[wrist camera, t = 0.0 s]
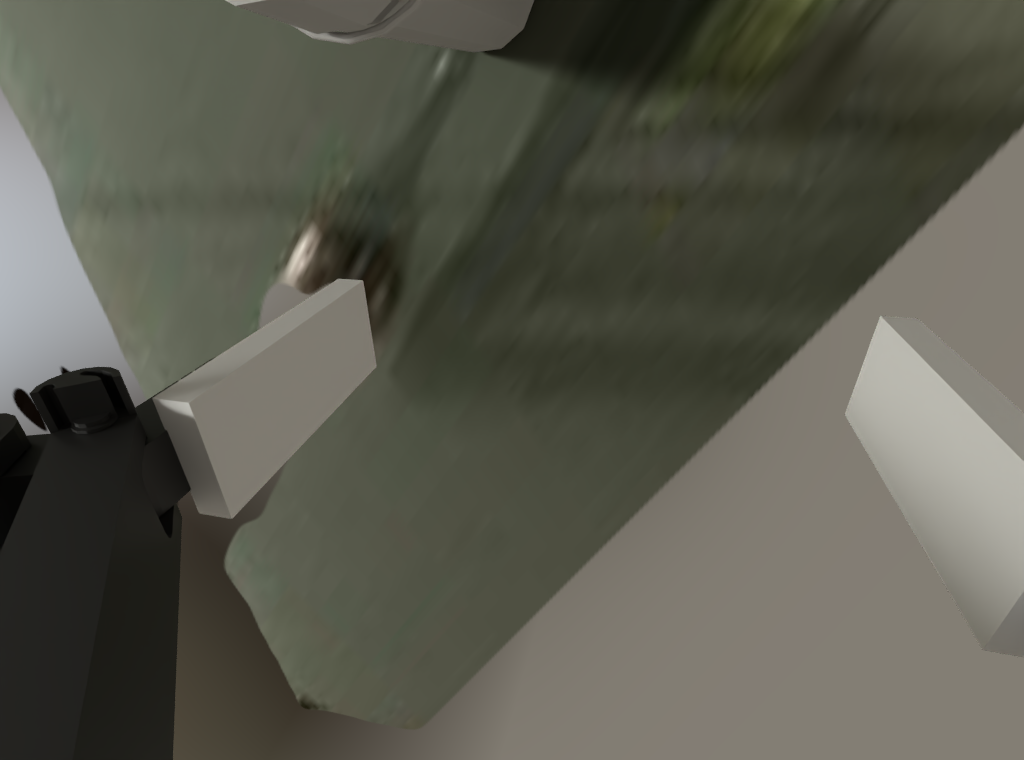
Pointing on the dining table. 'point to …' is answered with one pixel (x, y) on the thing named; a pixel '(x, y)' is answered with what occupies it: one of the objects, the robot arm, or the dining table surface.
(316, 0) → the water bottle
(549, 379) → the dining table surface
